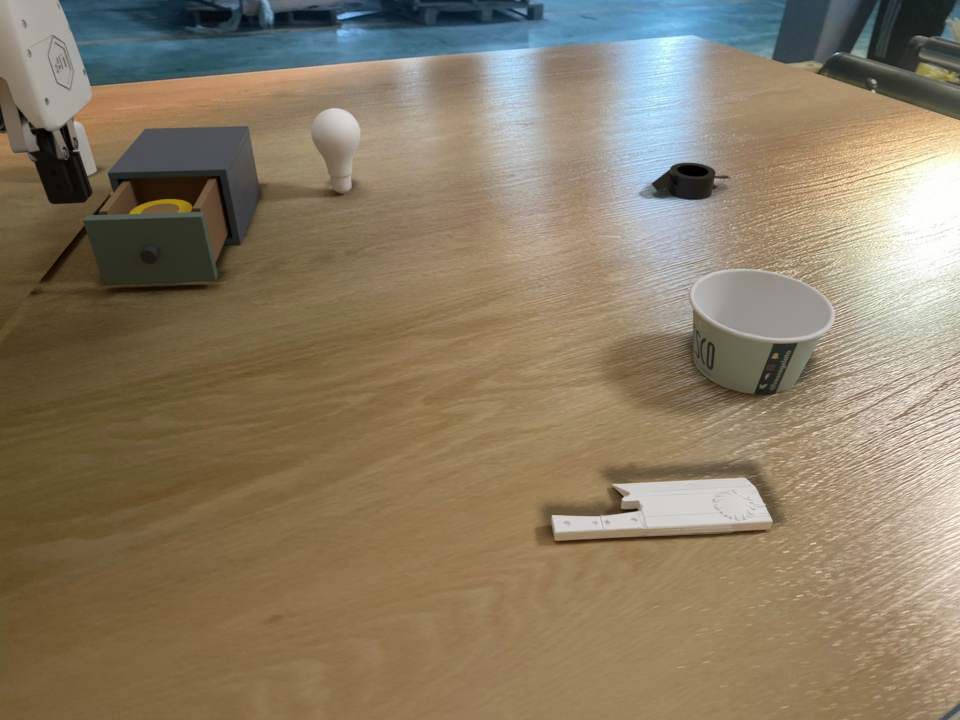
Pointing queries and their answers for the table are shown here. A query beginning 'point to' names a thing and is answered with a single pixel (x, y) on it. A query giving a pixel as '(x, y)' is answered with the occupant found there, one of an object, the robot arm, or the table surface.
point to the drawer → (160, 232)
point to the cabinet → (198, 165)
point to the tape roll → (163, 207)
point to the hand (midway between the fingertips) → (71, 199)
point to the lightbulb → (337, 144)
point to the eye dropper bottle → (84, 149)
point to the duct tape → (688, 181)
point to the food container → (756, 328)
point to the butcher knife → (673, 511)
